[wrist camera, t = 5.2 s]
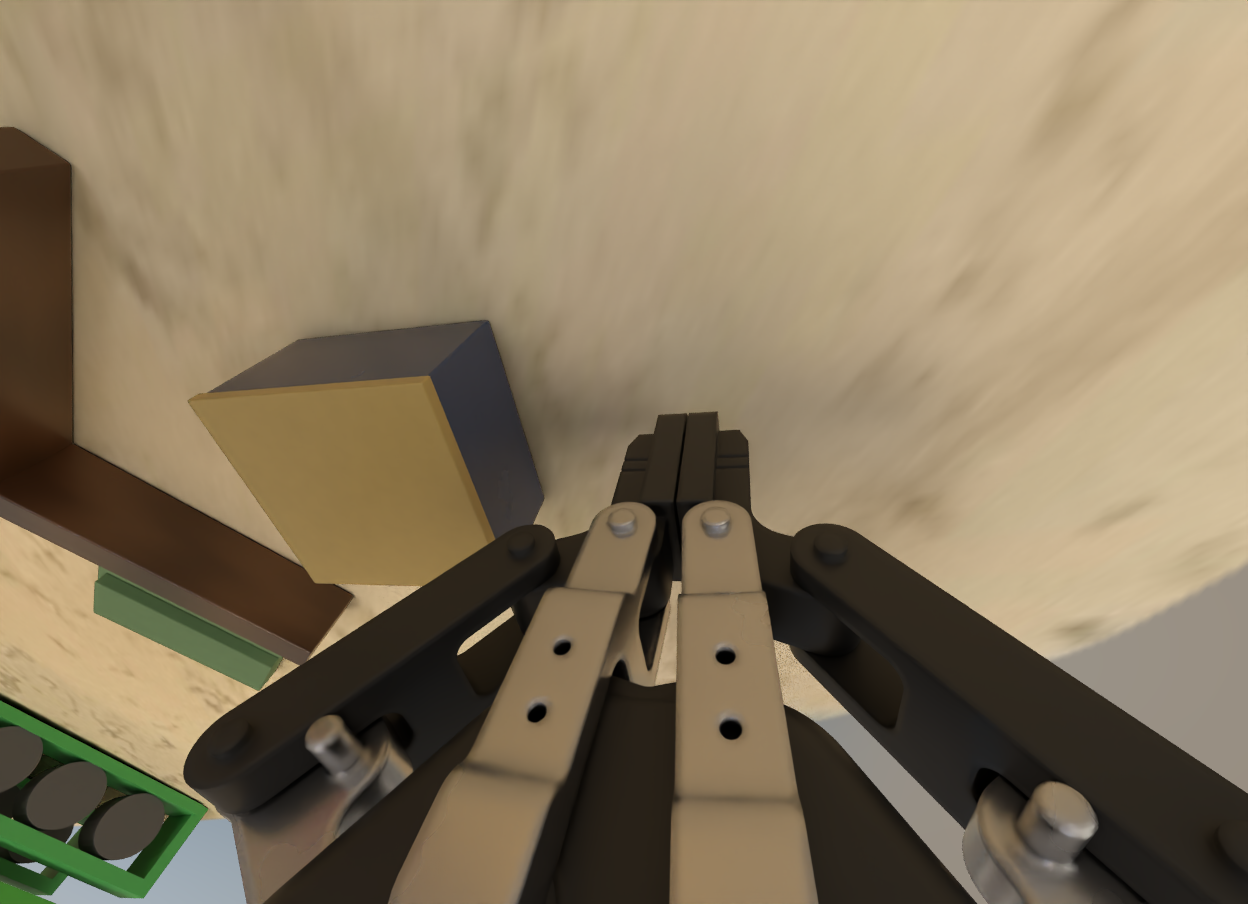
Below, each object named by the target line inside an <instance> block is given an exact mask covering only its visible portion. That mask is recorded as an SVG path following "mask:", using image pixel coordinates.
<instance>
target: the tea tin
mask: <svg viewBox="0 0 1248 904" xmlns="http://www.w3.org/2000/svg"><path fill="white" fill-rule="evenodd" d="M188 403H189V404H190V406H191V407H192V409H193V410H194V411H195V413H196V414H197V416H198V417H199V419H200V420H201V421H202V423H203V424H204V426H205V427H206V429H207V430H208V431H209V433H210V434H211V436H212V437H213V439H214V440H215V441H216V443H217V444H218V446H219V447H220V449H221V450H222V451H223V453H224V454H225V456H226V457H227V458H228V460H229V461H230V463H231V464H232V466H233V467H234V468H235V470H236V471H237V473H238V474H239V476H240V477H241V478H242V480H243V481H244V483H245V484H246V486H247V487H248V488H249V490H250V491H251V493H252V494H253V496H254V497H255V498H256V500H257V501H258V503H259V504H260V506H261V507H262V508H263V510H264V511H265V513H266V514H267V515H268V517H269V518H270V520H271V521H272V523H273V524H274V525H275V527H276V528H277V530H278V531H279V533H280V534H281V535H282V537H283V538H284V540H285V541H286V543H287V544H288V545H289V547H290V548H291V550H292V551H293V553H294V554H295V555H296V557H297V558H298V560H299V561H300V563H301V564H302V565H303V567H304V568H305V570H306V571H307V572H308V574H309V575H310V577H311V578H312V580H313V581H314V582H315V583H322V584H360V585H398V586H424V585H426V584H427V583H429V582H430V581H432V580H433V579H435V578H436V577H438V576H440V575H441V574H443V573H444V572H446V571H447V570H449V569H450V568H452V567H453V566H455V565H457V564H458V563H460V562H461V561H463V560H464V559H466V558H467V557H469V556H470V555H472V554H474V553H475V552H477V551H478V550H480V549H481V548H483V547H484V546H486V545H487V544H489V543H491V542H492V541H494V540H495V539H497V538H498V537H500V536H501V535H503V534H505V533H506V532H508V531H510V530H512V529H514V528H516V527H520V526H524V525H531V524H533V523H534V521H535V518H536V516H537V514H538V512H539V510H540V508H541V505H542V503H543V501H544V495H543V492H542V489H541V485H540V482H539V479H538V476H537V473H536V469H535V466H534V463H533V460H532V457H531V453H530V450H529V447H528V444H527V441H526V438H525V434H524V431H523V428H522V425H521V422H520V418H519V415H518V412H517V409H516V406H515V402H514V399H513V396H512V393H511V390H510V386H509V383H508V380H507V377H506V374H505V371H504V367H503V364H502V361H501V358H500V355H499V351H498V348H497V345H496V342H495V339H494V335H493V332H492V329H491V326H490V323H489V321H487V320H484V321H474V322H465V323H455V324H445V325H436V326H426V327H416V328H407V329H397V330H387V331H378V332H368V333H358V334H349V335H339V336H330V337H320V338H310V339H301V340H297V341H295V342H293V343H292V344H290V345H288V346H287V347H285V348H283V349H281V350H280V351H278V352H276V353H275V354H273V355H271V356H269V357H268V358H266V359H264V360H263V361H261V362H259V363H257V364H256V365H254V366H252V367H251V368H249V369H247V370H245V371H244V372H242V373H240V374H239V375H237V376H235V377H234V378H232V379H230V380H228V381H227V382H225V383H223V384H222V385H220V386H218V387H216V388H215V389H213V390H211V391H210V392H208V393H202V394H198V395H196V396H194V397H193V398H191V399H189V400H188Z"/></svg>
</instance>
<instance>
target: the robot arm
mask: <svg viewBox="0 0 1248 904" xmlns="http://www.w3.org/2000/svg"><path fill="white" fill-rule="evenodd" d="M624 460H625V461H624V462H623V465H622V469H621V470H622V471H621V472H620V476H619V479H618V483H617V486H616V489H615V493H614V496H613V500H612V503H611V506H609V507H607V508H605V509H603V510H602V511H600V512H599V513H598V514H597V515H596V516H595V518H594V519H593V521H592V523H591V526H590V528H589V530H588V531H586V532H583V533H580V534H577V535H573V536H569V537H565V538H561V539H557V540H555V537H554V534H553V533H552V531H551V530H550V529H548V528H546V527H544V526H541V525H533V524H531V525H524V526H520V527H516V528H514V529H512V530H510V531H508V532H506V533H505V534H503V535H501V536H500V537H498V538H497V539H495V540H494V541H492V542H491V543H489V544H487V545H486V546H484V547H483V548H481V549H480V550H478V551H477V552H475V553H474V554H472V555H470V556H469V557H467V558H466V559H464V560H463V561H461V562H460V563H458V564H457V565H455V566H453V567H452V568H450V569H449V570H447V571H446V572H444V573H443V574H441V575H440V576H438V577H436V578H435V579H433V580H432V581H430V582H429V583H427V584H426V585H424V586H423V587H421V588H419V589H418V590H416V591H415V592H413V593H412V594H410V595H409V596H407V597H406V598H404V599H402V600H401V601H399V602H398V603H396V604H395V605H393V606H392V607H390V608H389V609H387V610H385V611H384V612H382V613H381V614H379V615H378V616H376V617H375V618H373V619H371V620H370V621H368V622H367V623H365V624H364V625H362V626H361V627H359V628H358V629H356V630H354V631H353V632H351V633H350V634H348V635H347V636H345V637H344V638H342V639H341V640H339V641H337V642H336V643H334V644H333V645H331V646H330V647H328V648H327V649H325V650H324V651H322V652H320V653H319V654H317V655H316V656H314V657H313V658H311V659H310V660H308V661H307V662H305V663H303V664H302V665H300V666H299V667H297V668H296V669H294V670H293V671H291V672H290V673H288V674H286V675H285V676H283V677H282V678H280V679H279V680H277V681H276V682H274V683H273V684H271V685H269V686H268V687H266V688H265V689H263V690H262V691H260V692H259V693H257V694H256V695H254V696H252V697H251V698H249V699H248V700H246V701H245V702H243V703H242V704H240V705H238V706H237V707H235V708H234V709H232V710H231V711H229V712H228V713H226V714H225V715H223V716H222V717H221V718H219V719H218V720H217V721H216V722H214V723H213V724H212V725H211V726H210V727H209V728H208V729H207V730H206V731H205V732H204V733H203V734H202V735H201V736H200V738H199V739H198V740H197V742H196V743H195V744H194V746H193V747H192V749H191V751H190V752H189V754H188V757H187V759H186V762H185V765H184V771H183V775H184V780H185V782H186V783H187V784H188V785H189V786H190V787H191V788H192V789H194V790H195V791H196V792H197V793H199V794H200V795H201V796H203V797H204V798H205V799H206V800H208V801H209V802H210V803H212V804H213V805H214V806H215V808H216V810H217V811H218V812H219V813H220V814H221V815H222V816H223V817H225V818H226V819H227V820H229V821H230V822H231V823H232V828H233V833H234V838H235V844H236V849H237V854H238V860H239V864H240V870H241V876H242V881H243V886H244V891H245V897H246V902H247V904H977V903H976V902H975V901H974V899H973V898H972V897H971V896H970V895H969V894H968V893H967V891H966V890H965V889H964V888H963V887H962V886H961V884H960V883H959V882H958V881H957V880H956V879H955V878H954V876H953V875H952V874H951V873H950V872H949V870H948V869H947V868H946V867H945V866H944V865H943V864H942V862H941V861H940V860H939V859H938V858H937V857H936V856H935V854H934V853H933V852H932V851H931V850H930V848H929V847H928V846H927V845H926V844H925V843H924V842H923V840H922V839H921V838H920V837H919V836H918V835H917V833H916V832H915V831H914V830H913V829H912V828H911V827H910V825H909V824H908V823H907V822H906V821H905V820H904V818H903V817H902V816H901V815H900V814H899V813H898V811H897V810H896V809H895V808H894V807H893V806H892V805H891V803H890V802H889V801H888V800H887V799H886V797H885V796H884V795H883V794H882V793H881V792H880V790H878V788H877V787H876V786H875V785H874V784H873V782H872V781H871V780H870V779H869V778H868V777H867V775H866V774H865V773H864V772H863V771H862V770H861V768H860V767H859V766H858V765H857V764H856V763H855V761H854V760H853V759H852V758H851V757H850V756H849V755H848V753H847V752H846V751H845V750H844V749H843V748H842V746H841V745H840V744H839V743H838V742H837V741H836V740H835V739H834V738H833V737H832V736H831V735H830V734H829V733H827V732H826V731H825V730H824V729H823V728H822V727H820V726H819V725H818V724H817V723H815V722H814V721H812V720H811V719H810V718H808V717H807V716H805V715H803V714H802V713H800V712H798V711H796V710H795V709H793V708H790V707H788V706H786V705H784V704H783V698H782V691H781V685H780V679H779V673H778V666H777V660H776V654H775V648H774V642H773V640H776V641H779V642H782V643H785V644H788V645H790V649H791V652H792V653H793V655H794V657H795V658H796V659H797V660H798V661H799V662H800V663H801V664H802V665H803V666H804V667H805V668H806V669H807V670H808V671H809V672H810V673H811V674H812V675H813V676H814V677H815V678H816V679H817V680H818V681H819V682H820V683H821V684H822V686H823V687H824V688H825V689H826V690H827V691H828V692H829V693H830V694H831V695H832V696H833V697H834V698H835V699H836V700H837V701H838V702H839V703H840V704H841V705H842V706H843V707H844V708H845V709H846V710H847V711H848V712H849V713H850V714H851V715H852V716H853V717H854V718H855V719H856V720H857V721H858V722H859V723H860V724H861V725H862V726H863V727H864V728H865V729H866V730H867V731H868V732H869V733H870V734H871V735H872V736H873V737H874V738H875V739H876V740H877V741H878V742H879V743H880V744H881V745H882V746H883V747H884V748H885V749H886V750H887V751H888V752H889V753H890V754H891V755H892V756H893V757H894V758H895V759H896V760H897V761H898V762H899V763H900V764H901V766H903V768H904V769H905V770H907V771H908V773H909V774H910V775H911V776H912V777H913V778H914V779H915V780H916V781H917V782H918V783H919V784H920V785H921V786H922V787H923V788H924V789H925V790H926V791H927V792H928V793H929V794H930V795H931V796H932V797H933V798H934V799H935V800H936V801H937V802H938V803H939V804H940V805H941V806H942V807H943V808H944V809H945V810H946V811H947V812H948V813H949V814H950V815H951V816H952V817H953V818H954V819H955V820H956V821H957V822H958V823H959V824H960V825H961V826H962V827H963V828H964V829H965V832H964V836H963V841H962V843H963V844H962V850H963V856H964V861H965V865H966V867H967V870H968V873H969V875H970V877H971V879H972V881H973V883H974V884H975V886H976V888H977V889H978V891H979V892H980V893H981V895H982V896H983V898H984V899H985V900H986V901H987V903H988V904H1248V793H1246V792H1245V791H1243V790H1242V789H1240V788H1239V787H1237V786H1236V785H1234V784H1232V783H1231V782H1230V781H1228V780H1226V779H1225V778H1224V777H1222V776H1221V775H1219V774H1218V773H1216V772H1215V771H1213V770H1212V769H1210V768H1209V767H1207V766H1206V765H1204V764H1203V763H1201V762H1200V761H1198V760H1197V759H1195V758H1194V757H1192V756H1190V755H1189V754H1188V753H1186V752H1185V751H1183V750H1182V749H1180V748H1179V747H1177V746H1176V745H1174V744H1173V743H1171V742H1170V741H1168V740H1167V739H1165V738H1164V737H1162V736H1161V735H1159V734H1158V733H1156V732H1155V731H1153V730H1152V729H1150V728H1149V727H1147V726H1146V725H1144V724H1143V723H1141V722H1140V721H1138V720H1137V719H1135V718H1134V717H1132V716H1131V715H1129V714H1128V713H1126V712H1125V711H1123V710H1122V709H1120V708H1119V707H1117V706H1116V705H1114V704H1113V703H1111V702H1110V701H1108V700H1107V699H1105V698H1104V697H1102V696H1101V695H1099V694H1098V693H1096V692H1095V691H1093V690H1092V689H1090V688H1089V687H1087V686H1086V685H1084V684H1083V683H1081V682H1080V681H1078V680H1077V679H1076V678H1074V677H1072V676H1071V675H1070V674H1068V673H1066V672H1065V671H1063V670H1062V669H1060V668H1059V667H1057V666H1056V665H1054V664H1053V663H1052V662H1050V661H1049V660H1047V659H1046V658H1044V657H1043V656H1041V655H1040V654H1038V653H1037V652H1035V651H1034V650H1032V649H1031V648H1029V647H1028V646H1026V645H1025V644H1023V643H1022V642H1020V641H1019V640H1017V639H1016V638H1014V637H1013V636H1011V635H1010V634H1008V633H1007V632H1005V631H1004V630H1002V629H1001V628H999V627H998V626H996V625H995V624H993V623H992V622H990V621H989V620H987V619H986V618H984V617H983V616H981V615H980V614H978V613H977V612H975V611H974V610H972V609H971V608H969V607H968V606H966V605H965V604H963V603H962V602H960V601H959V600H957V599H956V598H954V597H953V596H951V595H950V594H948V593H947V592H945V591H944V590H942V589H941V588H939V587H938V586H936V585H935V584H933V583H932V582H930V581H929V580H927V579H926V578H924V577H923V576H921V575H920V574H918V573H917V572H915V571H914V570H912V569H911V568H909V567H908V566H907V565H905V564H904V563H902V562H901V561H899V560H898V559H896V558H895V557H893V556H892V555H890V554H889V553H887V552H886V551H884V550H883V549H881V548H880V547H878V546H877V545H875V544H874V543H872V542H871V541H869V540H868V539H866V538H865V537H863V536H862V535H860V534H859V533H857V532H855V531H854V530H852V529H849V528H847V527H844V526H840V525H835V524H816V525H811V526H808V527H806V528H803V529H802V530H800V531H799V532H797V533H796V534H795V536H794V537H792V536H788V535H784V534H780V533H777V532H774V531H771V530H769V529H767V528H766V527H764V526H763V525H761V524H760V523H759V522H758V521H757V520H756V519H755V517H754V516H753V514H752V511H751V497H750V472H749V446H748V440H747V439H746V438H745V436H744V435H743V434H742V433H741V432H740V430H726V431H719V419H718V412H700V413H689V414H688V415H687V413H683V414H665V415H658V418H657V422H656V427H655V431H654V434H643V435H638V437H637V438H636V439H635V440H634V441H633V442H632V443H631V444H630V445H629V446H628V448H627V452H626V455H625V459H624ZM672 581H682V592H681V594H679V595H678V610H677V675H676V682H674V683H669V684H663V685H658V686H655V682H656V677H657V672H658V667H659V663H660V658H661V653H662V648H663V644H664V639H665V634H666V630H667V625H668V620H669V616H670V610H671V606H670V595H671V588H672ZM510 607H511V608H512V611H513V613H514V616H512V617H511V618H510V619H508V620H507V621H506V622H504V623H503V624H501V625H500V626H499V627H497V628H496V629H495V630H493V631H492V632H491V633H489V634H488V635H487V636H485V637H484V638H483V639H481V640H480V641H479V642H477V643H476V644H475V645H473V646H472V647H471V648H469V649H468V650H467V651H465V652H464V653H462V654H460V655H457V653H458V650H459V648H460V646H461V645H462V643H463V642H464V641H465V640H466V639H467V638H469V637H470V636H471V635H473V634H474V633H475V632H477V631H478V630H480V629H481V628H482V627H484V626H485V625H486V624H488V623H489V622H490V621H492V620H493V619H495V618H496V617H497V616H499V615H500V614H501V613H503V612H504V611H505V610H507V609H508V608H510Z"/></svg>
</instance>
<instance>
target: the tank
mask: <svg viewBox="0 0 1248 904" xmlns="http://www.w3.org/2000/svg"><path fill="white" fill-rule="evenodd" d="M42 754H44V755H46V756H48V757H50V758H52V759H54V760H56V761H59V762H61V763H63V764H65V765H61V766H57V767H54V768H51V769H48V770H46V771H44V772H42V773H40V774H38V775H37V776H35V777H34V778H32V779H29V778H26V777H27V776H29V775H30V774H31V772H32V771H33V770H34V769H35V768H36V766H37V765H38V763H39V761H40V759H41V756H42ZM106 786H109V787H112V788H114V789H116V790H118V791H120V792H122V793H124V794H126V795H127V796H121V797H117V798H114V799H112V800H109V801H107V802H106V803H104V804H102V805H101V806H99V807H98V808H97V809H96V810H95V808H96V807H97V805H98V804H99V803H100V801H101V800H102V798H103V796H104V794H105V791H106ZM207 810H208V809H207V808H206V807H204V805H202V804H200V803H198V802H196V801H194V800H192V799H190V798H188V797H186V796H184V795H182V794H180V793H178V792H176V791H175V790H173V789H171V788H169V787H167V786H165V785H163V784H161V783H159V782H157V781H155V780H153V779H151V778H149V777H147V776H145V775H144V774H142V773H140V772H138V771H136V770H134V769H132V768H130V767H128V766H126V765H124V764H122V763H120V762H118V761H116V760H114V759H112V758H111V757H109V756H107V755H105V754H103V753H101V752H99V751H97V750H95V749H93V748H91V747H89V746H87V745H85V744H83V743H81V742H80V741H78V740H76V739H74V738H72V737H70V736H68V735H66V734H64V733H62V732H60V731H58V730H56V729H54V728H52V727H50V726H48V725H47V724H45V723H43V722H41V721H39V720H37V719H35V718H33V717H31V716H29V715H27V714H25V713H23V712H21V711H19V710H17V709H16V708H14V707H12V706H10V705H8V704H6V703H4V702H2V701H0V904H55V903H53V902H51V901H48V900H46V899H43V898H41V897H38V896H36V895H52V894H53V893H54V891H55V890H56V889H57V888H58V887H59V886H60V884H61V883H62V882H63V881H64V880H65V878H66V877H67V876H70V877H73V878H75V879H78V880H80V881H82V882H84V883H87V884H89V885H91V886H94V887H96V888H98V889H101V890H103V891H105V892H108V893H110V894H112V895H115V896H117V897H120V898H144V897H145V896H146V894H147V893H148V891H149V890H150V889H151V887H152V886H153V885H154V883H155V882H156V880H157V879H158V878H159V876H160V875H161V874H162V872H163V871H164V869H165V868H166V867H167V865H168V864H169V863H170V861H171V860H172V858H173V857H174V856H175V854H176V853H177V851H178V850H179V849H180V847H181V846H182V844H183V843H184V842H185V840H186V839H187V838H188V836H189V835H190V834H191V832H192V830H193V829H194V828H195V827H196V825H197V824H198V823H199V821H200V820H201V818H202V817H203V816H204V814H205V813H206V812H207ZM165 814H167V815H169V817H168V818H167V819H166V820H165V822H164V823H163V821H164V815H165ZM12 817H13V819H14V820H13V819H11V818H12ZM75 823H79V824H81V825H83V826H82V827H81V828H80V829H79V830H78V832H77V833H76V834H75V835H74V836H73V837H72V838H71V839H70V841H69V842H68V843H67V844H66V843H65V842H66V841H67V839H68V838H69V836H70V835H71V833H72V830H73V826H74V824H75ZM141 850H142V851H141ZM140 851H141V853H140V854H139V855H138V857H137V858H136V859H135V861H134V862H133V863H132V864H131V866H130V867H129V868H128V870H127V871H125V870H123V869H121V868H118V867H116V866H114V865H112V864H109V863H107V862H105V861H103V860H119V859H124V858H128V857H131V856H133V855H135V854H137V853H138V852H140ZM32 862H38V863H40V864H42V865H45V866H47V867H46V868H45V869H44V870H43V871H42V872H41V874H39V873H36V872H34V871H32V870H29V869H27V868H25V867H22V866H20V865H17V864H18V863H32ZM16 863H17V864H16ZM3 882H4V883H3ZM8 884H9V885H8ZM13 886H14V887H13ZM18 888H19V889H18ZM23 890H24V891H23ZM28 892H29V893H28ZM33 894H34V895H33Z"/></svg>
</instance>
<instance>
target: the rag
mask: <svg viewBox="0 0 1248 904" xmlns="http://www.w3.org/2000/svg"><path fill="white" fill-rule="evenodd" d="M94 613H96V614H98V615H100V616H102V617H105V618H107V619H109V620H111V621H113V622H115V623H117V624H119V625H121V626H123V627H126V628H128V629H130V630H132V631H134V632H136V633H138V634H140V635H142V636H144V637H147V638H149V639H151V640H153V641H155V642H157V643H159V644H161V645H163V646H165V647H168V648H170V649H172V650H174V651H176V652H178V653H180V654H182V655H184V656H186V657H189V658H191V659H193V660H195V661H197V662H199V663H201V664H203V665H205V666H207V667H209V668H212V669H214V670H216V671H218V672H220V673H222V674H224V675H226V676H228V677H230V678H233V679H235V680H237V681H239V682H241V683H243V684H245V685H247V686H249V687H251V688H254V689H256V690H258V691H259V690H260V689H261V688H262V687H263V685H264V684H265V683H266V682H267V681H268V680H269V678H270V677H271V676H272V675H273V673H274V672H275V671H276V669H277V667H278V665H279V664H280V662H281V660H282V658H283V657H282V656H280V655H278V654H276V653H274V652H272V651H270V650H268V649H266V648H264V647H262V646H260V645H257V644H255V643H253V642H251V641H249V640H247V639H245V638H243V637H241V636H239V635H237V634H235V633H233V632H231V631H229V630H227V629H225V628H223V627H221V626H219V625H217V624H215V623H213V622H211V621H209V620H207V619H205V618H203V617H201V616H199V615H197V614H195V613H193V612H191V611H189V610H187V609H185V608H183V607H181V606H179V605H177V604H175V603H173V602H171V601H169V600H167V599H165V598H163V597H161V596H159V595H157V594H155V593H153V592H151V591H149V590H147V589H145V588H143V587H141V586H139V585H137V584H135V583H133V582H131V581H129V580H127V579H125V578H123V577H121V576H119V575H117V574H115V573H113V572H111V571H109V570H107V569H105V568H102V567H100V566H99V570H98V580H97V581H95V589H94Z"/></svg>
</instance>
